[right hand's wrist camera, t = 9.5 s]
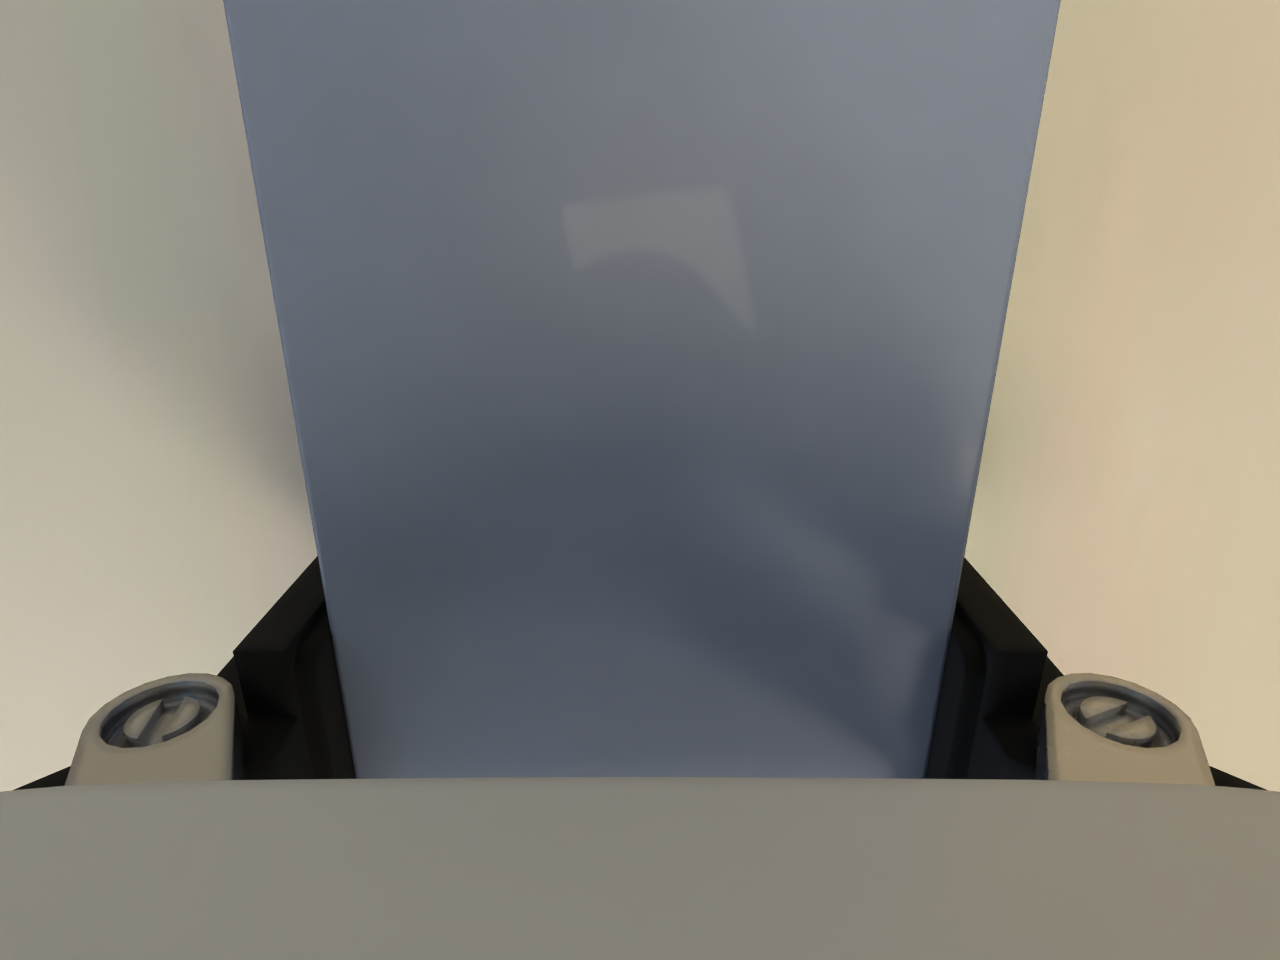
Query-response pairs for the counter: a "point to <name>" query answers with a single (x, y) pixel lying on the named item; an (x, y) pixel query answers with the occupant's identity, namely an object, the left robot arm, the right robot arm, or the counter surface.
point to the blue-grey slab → (641, 364)
